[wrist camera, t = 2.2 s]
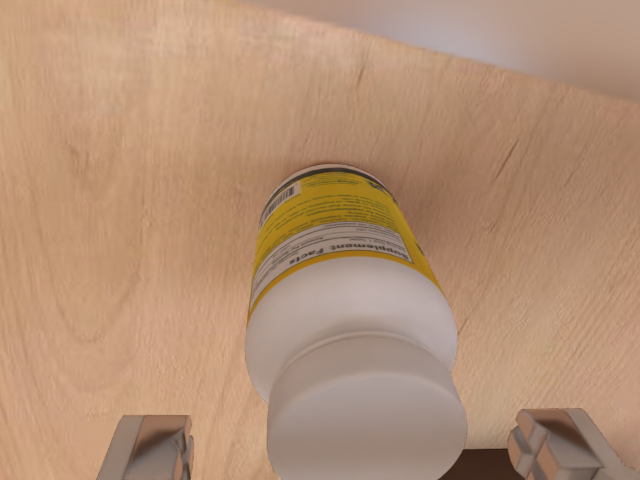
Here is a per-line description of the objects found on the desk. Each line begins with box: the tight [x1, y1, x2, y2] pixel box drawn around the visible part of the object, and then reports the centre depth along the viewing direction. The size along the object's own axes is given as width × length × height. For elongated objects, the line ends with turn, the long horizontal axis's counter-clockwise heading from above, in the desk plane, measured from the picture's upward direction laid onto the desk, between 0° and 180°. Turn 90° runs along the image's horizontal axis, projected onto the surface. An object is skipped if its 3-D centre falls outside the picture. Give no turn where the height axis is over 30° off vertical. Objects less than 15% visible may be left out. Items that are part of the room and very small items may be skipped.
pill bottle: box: [245, 164, 467, 480], centre depth 15 cm, size 6×6×11 cm
